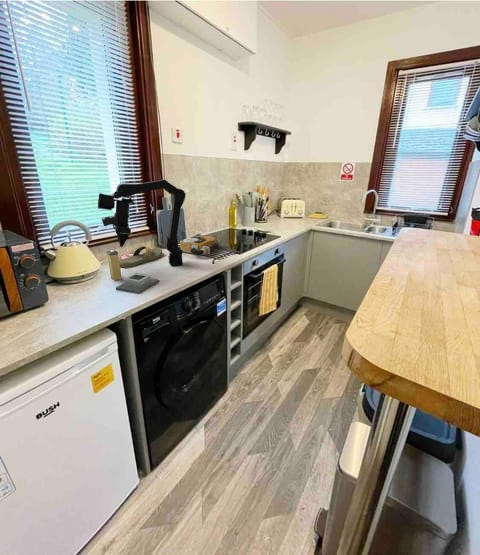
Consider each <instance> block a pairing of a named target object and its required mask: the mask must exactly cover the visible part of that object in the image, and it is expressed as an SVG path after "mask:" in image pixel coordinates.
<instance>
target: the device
mask: <svg viewBox="0 0 480 555" xmlns="http://www.w3.org/2000/svg"><path fill="white" fill-rule="evenodd" d="M179 245H180V246H179V248H180V249H181V250H182V251H183V252H184V253H186V254H187V253H188V254H194V255H199V256H200V255H201V256H202V255H203V256H206V255H210V254H211V253H210V252H211V251H212V250H214V249H215V248H217V247H218V246H221V245H222V239H221V240H220V239H217V238H216V237H213V236H210V235H209V236H208V235H203V234H201V233H197V234H195V235H192V236H189V237H186V238H184V239H183V240H180V241H179Z"/></svg>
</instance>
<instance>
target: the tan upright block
mask: <svg viewBox="0 0 480 555" xmlns="http://www.w3.org/2000/svg"><path fill="white" fill-rule="evenodd" d="M105 253H106V257H107V262H108V263H107V264H108V268H109V274H110V278H111V279H112V280H113V281H114V282H115V281H118V280H119V281H120V280H122V279H123V276H122V270H121V266H120V263H119V260H120V258H119V252H118V251H116V250H115V249H111V250H107V251H106V252H105Z"/></svg>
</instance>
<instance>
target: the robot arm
mask: <svg viewBox="0 0 480 555" xmlns="http://www.w3.org/2000/svg"><path fill="white" fill-rule="evenodd" d="M161 189H163V190H164V191H166V192H167V193H168V194H169V195H170V201H171V210H170V212H171V213H170V219H169V226H168V234H167V236H166V235H165V236H163V245H164V248H165V249H166V250H167V251H168V252H169V253H168V255H169V256H167V257H168V264H169V265H170V267H179V266H184V263H183V262H184V261H183V251H182V250H181V248H180V246H179V241H178V240H179V239H178V230H179V224H180V216H181V209H182V206H183V204H184V203H185V199H186V192H185V191H184V190H183V189H181V188H178V187H176V186H174V185H173V184H172V183H170V182H168V180H166V179H159V180H153V181H148V182H142V183H120V184H118V185H117V186H116V189H115V191H114V192H113V193H112V194H106V193H105V194H104V193H101V192H99V193H98V199H97V209H100V210H107V211H112V210H113V209H115V212H114V213H113V214H114V215H110V216H105V217H102V218H101V221H102V224H103V227H108V226H110V225H112V227H113V229H114V230H115V234H116V238H117V242H118V244H119V247H120V248H122V247H124V246H125V243H126V241H127V240H128V238H129V237H130V235H131V233H132V232H131V231H132V229H131V228H130V227H129V226H130V224H129V218H130V206H131V205H130V204H135V202H134V200H133V199H132V197H131V196H135V195H137V194H140V193H143V192H148V191H149V192H150V191H156V190H161Z"/></svg>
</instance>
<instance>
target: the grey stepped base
mask: <svg viewBox="0 0 480 555" xmlns="http://www.w3.org/2000/svg"><path fill="white" fill-rule="evenodd" d="M158 283H160V279H156V278H152V277H151V275H149V274H143V273H133V274H130V275H128V276H127V277H124V278H123V283H122V284H120V285H118V286H116V287H115V290H117V291H121V292H127V293H133V294H138V295H139V294H142V293H143V292H145V291H147V290H148V289H150V288H151V287H153V286H155V285H156V284H158Z"/></svg>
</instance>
